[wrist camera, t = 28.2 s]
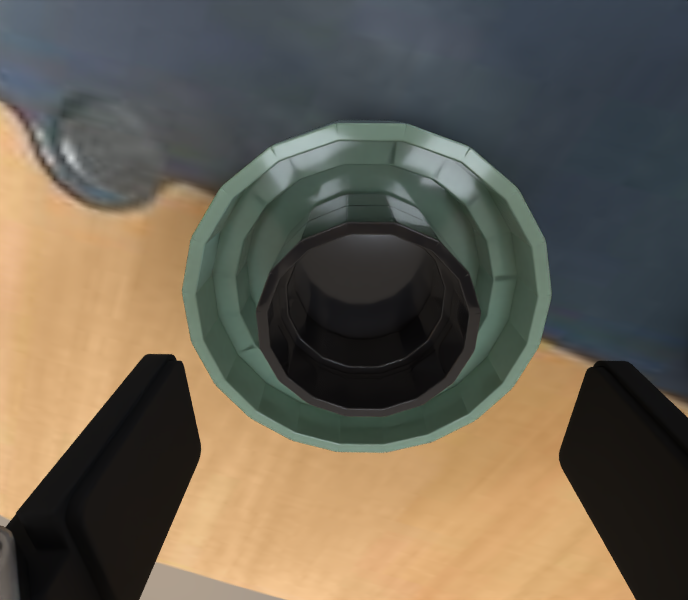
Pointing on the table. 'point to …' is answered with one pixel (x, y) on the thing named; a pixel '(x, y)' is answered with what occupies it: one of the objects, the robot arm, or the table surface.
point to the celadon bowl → (366, 178)
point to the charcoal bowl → (367, 308)
